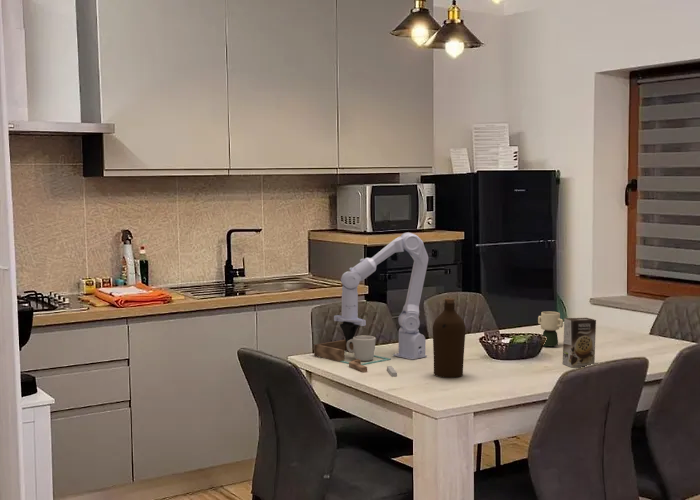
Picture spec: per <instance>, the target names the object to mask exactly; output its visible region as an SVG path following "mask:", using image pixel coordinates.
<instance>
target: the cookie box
mask: <svg viewBox="0 0 700 500" xmlns="http://www.w3.org/2000/svg"><path fill="white" fill-rule="evenodd" d="M596 330H597V320H596V319H593V318H589V317H564V320H563V341H562V343H563V345H562V365H564V366H568V367H570V368H583V367H582V366H587V365H591V364H594V365H595V364H596V363H595V360H596V359H595V358H596V357H595V356H596V355H595V354H596V336H597V335H596Z"/></svg>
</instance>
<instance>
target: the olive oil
mask: <svg viewBox="0 0 700 500" xmlns="http://www.w3.org/2000/svg"><path fill="white" fill-rule="evenodd" d="M443 305H444V306H443V307H444V308H443V311H442V312H440V314H439V315H438V316H437V317H436V318H435V319H434V322H433V324H432V346H433V375H434V376H436V377H439V378H447V379H448V378H449V379H452V378H453V379H454V378H460V377H462V376H463V375H464V357H465V344H466V343H465V341H466V329H467V328H466V323H465V321H464V320H463V318H462V317H461V316H460V315H459V314H458V312H457V311H456V310H455V307H456V306H455V305H456V303H455V298H454V297H445V298H444V303H443Z"/></svg>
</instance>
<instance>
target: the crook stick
mask: <svg viewBox="0 0 700 500" xmlns="http://www.w3.org/2000/svg"><path fill="white" fill-rule="evenodd" d="M348 362H349V364H348V366H349V368H351V369H354V370H356V371H358V372H361V373H367V372H368V366H365V365H361V364H362V363H361V362H362V361H360V360H359V359H353V360H351V361H348Z"/></svg>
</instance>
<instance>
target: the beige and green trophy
mask: <svg viewBox="0 0 700 500" xmlns="http://www.w3.org/2000/svg"><path fill="white" fill-rule="evenodd" d="M537 323H538V325H540V329H542V330H543V331H542V336H546V337H547V340H546V342H545V344H544V347H552V348H554V347H556V346H559V339H558V332H557V331H558V330H560V328H564V320H563V319H562V318H561V313H560V312H557V311H549V310H548V311H541V314H540V315H538V317H537Z"/></svg>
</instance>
